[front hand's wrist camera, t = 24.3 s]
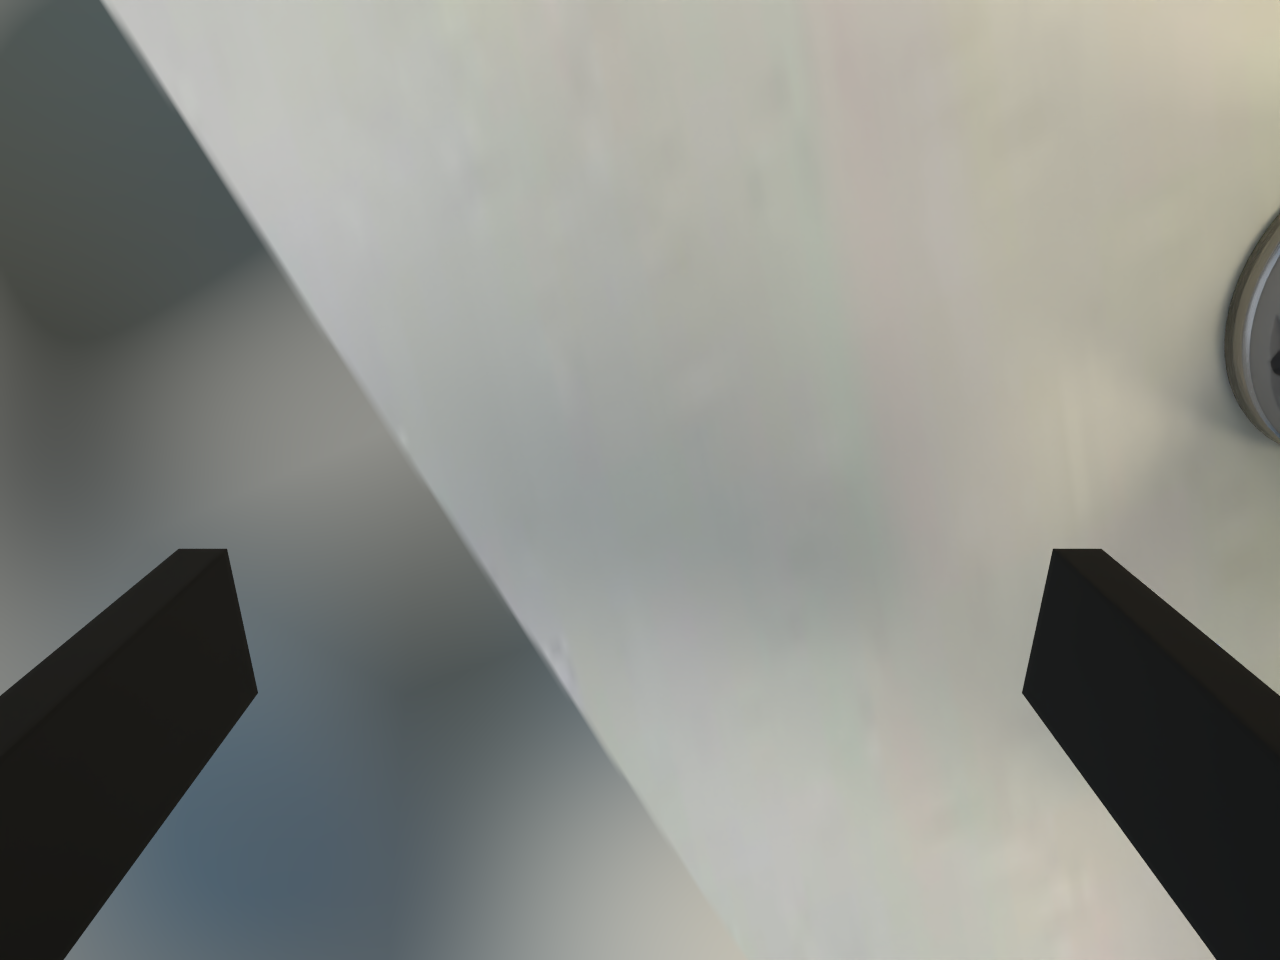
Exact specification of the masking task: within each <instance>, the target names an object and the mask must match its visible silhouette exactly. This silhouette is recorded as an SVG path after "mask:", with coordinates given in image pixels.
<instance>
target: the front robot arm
mask: <svg viewBox="0 0 1280 960" xmlns="http://www.w3.org/2000/svg"><path fill="white" fill-rule="evenodd" d="M1225 360H1226V368H1227V374H1228V378H1229V382H1230V385H1231V388H1232V390H1233V393H1234V396H1235V398H1236V400H1237V402H1238V403H1239V405H1240V407H1241V409H1242V410H1243V412H1244V413H1245V415H1246V416H1247V417H1248V419H1249V420H1250V421H1251V422H1252V423H1253V424H1254V425H1255V426H1256V427H1257V428H1258V429H1259V430H1260V431H1261V432H1262V433H1264V434H1265V435H1266V436H1267V437H1269V438H1270V439H1272V440H1274V441H1275V442H1277V443H1278V444H1280V214H1279V215H1278V216H1277V218H1276V219H1275V220H1274V221H1273V223H1272V224H1271V225H1270V226H1269V228H1268V229H1267V231H1266V232H1265V233H1264V235H1263V236H1262V238H1261V239H1260V241H1259V242H1258V244H1257V245H1256V247H1255V249H1254V251H1253V252H1252V254H1251V256H1250V257H1249V259H1248V261H1247V263H1246V265H1245V267H1244V269H1243V271H1242V274H1241V276H1240V278H1239V281H1238V283H1237V286H1236V289H1235V291H1234V294H1233V298H1232V301H1231V305H1230V308H1229V313H1228V318H1227V323H1226V332H1225ZM257 693H258V691H257V686H256V682H255V677H254V672H253V668H252V663H251V658H250V654H249V649H248V645H247V640H246V635H245V631H244V626H243V621H242V617H241V612H240V607H239V603H238V598H237V593H236V589H235V584H234V579H233V575H232V570H231V565H230V561H229V556H228V552H227V549H178V550H177V551H176V552H174V553H173V554H172V555H171V556H169V557H168V558H167V559H166V560H165V561H163V562H162V563H161V564H160V565H159V566H157V567H156V568H155V569H154V570H152V571H151V572H150V573H149V574H148V575H146V576H145V577H144V578H143V579H142V580H140V581H139V582H138V583H137V584H136V585H134V586H133V587H132V588H131V589H129V590H128V591H127V592H126V593H125V594H123V595H122V596H121V597H120V598H119V599H117V600H116V601H115V602H114V603H112V604H111V605H110V606H109V607H108V608H106V609H105V610H104V611H103V612H102V613H100V614H99V615H98V616H97V617H95V618H94V619H93V620H92V621H91V622H89V623H88V624H87V625H86V626H85V627H83V628H82V629H81V630H80V631H78V632H77V633H76V634H75V635H74V636H72V637H71V638H70V639H69V640H68V641H66V642H65V643H64V644H63V645H62V646H60V647H59V648H58V649H57V650H55V651H54V652H53V653H52V654H51V655H49V656H48V657H47V658H46V659H45V660H43V661H42V662H41V663H40V664H38V665H37V666H36V667H35V668H34V669H32V670H31V671H30V672H29V673H28V674H26V675H25V676H24V677H23V678H21V679H20V680H19V681H18V682H17V683H15V684H14V685H13V686H12V687H11V688H9V689H8V690H7V691H6V692H5V693H3V694H2V695H1V696H0V960H64V958H65V957H66V956H67V954H68V953H69V951H70V950H71V949H72V947H73V946H74V945H75V943H76V942H77V941H78V939H79V938H80V936H81V935H82V934H83V932H84V931H85V930H86V928H87V927H88V925H89V924H90V923H91V921H92V920H93V919H94V917H95V916H96V914H97V913H98V912H99V910H100V909H101V908H102V906H103V905H104V904H105V902H106V901H107V899H108V898H109V897H110V895H111V894H112V893H113V891H114V890H115V888H116V887H117V886H118V884H119V883H120V882H121V880H122V879H123V877H124V876H125V875H126V873H127V872H128V871H129V869H130V868H131V866H132V865H133V864H134V862H135V861H136V860H137V858H138V857H139V855H140V854H141V853H142V851H143V850H144V848H145V847H146V846H147V844H148V843H149V842H150V840H151V839H152V838H153V836H154V835H155V833H156V832H157V831H158V829H159V828H160V827H161V825H162V824H163V823H164V821H165V820H166V818H167V817H168V816H169V814H170V813H171V811H172V810H173V809H174V807H175V806H176V805H177V803H178V802H179V801H180V799H181V798H182V796H183V795H184V794H185V792H186V791H187V790H188V788H189V787H190V785H191V784H192V783H193V781H194V780H195V779H196V777H197V776H198V775H199V773H200V772H201V770H202V769H203V768H204V766H205V765H206V763H207V762H208V761H209V759H210V758H211V757H212V755H213V754H214V753H215V751H216V750H217V748H218V747H219V746H220V744H221V743H222V742H223V740H224V739H225V737H226V736H227V735H228V733H229V732H230V731H231V729H232V728H233V726H234V725H235V724H236V722H237V721H238V720H239V718H240V717H241V716H242V714H243V713H244V711H245V710H246V709H247V707H248V706H249V705H250V703H251V702H252V700H253V699H254V698H255V696H256V695H257ZM1022 694H1023V695H1024V696H1025V698H1026V699H1027V700H1028V702H1029V703H1030V705H1031V706H1032V707H1033V709H1034V710H1035V711H1036V713H1037V714H1038V716H1039V717H1040V718H1041V720H1042V721H1043V722H1044V724H1045V725H1046V726H1047V728H1048V729H1049V731H1050V732H1051V733H1052V735H1053V736H1054V737H1055V739H1056V740H1057V742H1058V743H1059V744H1060V746H1061V747H1062V748H1063V750H1064V751H1065V753H1066V754H1067V755H1068V757H1069V758H1070V759H1071V761H1072V762H1073V764H1074V765H1075V766H1076V768H1077V769H1078V770H1079V772H1080V773H1081V775H1082V776H1083V777H1084V779H1085V780H1086V781H1087V783H1088V784H1089V785H1090V787H1091V788H1092V790H1093V791H1094V792H1095V794H1096V795H1097V796H1098V798H1099V799H1100V801H1101V802H1102V803H1103V805H1104V806H1105V807H1106V809H1107V810H1108V812H1109V813H1110V814H1111V816H1112V817H1113V818H1114V820H1115V821H1116V823H1117V824H1118V825H1119V827H1120V828H1121V829H1122V831H1123V832H1124V834H1125V835H1126V836H1127V838H1128V839H1129V840H1130V842H1131V843H1132V844H1133V846H1134V847H1135V849H1136V850H1137V851H1138V853H1139V854H1140V855H1141V857H1142V858H1143V860H1144V861H1145V862H1146V864H1147V865H1148V866H1149V868H1150V869H1151V871H1152V872H1153V873H1154V875H1155V876H1156V877H1157V879H1158V880H1159V882H1160V883H1161V884H1162V886H1163V887H1164V888H1165V890H1166V891H1167V893H1168V894H1169V895H1170V897H1171V898H1172V899H1173V901H1174V902H1175V904H1176V905H1177V906H1178V908H1179V909H1180V910H1181V912H1182V913H1183V914H1184V916H1185V917H1186V919H1187V920H1188V921H1189V923H1190V924H1191V925H1192V927H1193V928H1194V930H1195V931H1196V932H1197V934H1198V935H1199V936H1200V938H1201V939H1202V941H1203V942H1204V943H1205V945H1206V946H1207V947H1208V949H1209V950H1210V952H1211V953H1212V954H1213V956H1214V957H1215V958H1216V960H1280V696H1279V695H1278V694H1277V693H1276V692H1274V691H1273V690H1272V689H1271V688H1269V687H1268V686H1267V685H1266V684H1265V683H1263V682H1262V681H1261V680H1260V679H1259V678H1257V677H1256V676H1255V675H1254V674H1252V673H1251V672H1250V671H1249V670H1248V669H1246V668H1245V667H1244V666H1243V665H1242V664H1240V663H1239V662H1238V661H1237V660H1236V659H1234V658H1233V657H1232V656H1231V655H1229V654H1228V653H1227V652H1226V651H1225V650H1223V649H1222V648H1221V647H1220V646H1219V645H1217V644H1216V643H1215V642H1214V641H1212V640H1211V639H1210V638H1209V637H1208V636H1206V635H1205V634H1204V633H1203V632H1202V631H1200V630H1199V629H1198V628H1197V627H1195V626H1194V625H1193V624H1192V623H1191V622H1189V621H1188V620H1187V619H1186V618H1185V617H1183V616H1182V615H1181V614H1180V613H1178V612H1177V611H1176V610H1175V609H1174V608H1172V607H1171V606H1170V605H1169V604H1168V603H1166V602H1165V601H1164V600H1163V599H1161V598H1160V597H1159V596H1158V595H1157V594H1155V593H1154V592H1153V591H1152V590H1151V589H1149V588H1148V587H1147V586H1146V585H1145V584H1143V583H1142V582H1141V581H1140V580H1138V579H1137V578H1136V577H1135V576H1134V575H1132V574H1131V573H1130V572H1129V571H1128V570H1126V569H1125V568H1124V567H1123V566H1121V565H1120V564H1119V563H1118V562H1117V561H1115V560H1114V559H1113V558H1112V557H1111V556H1109V555H1108V554H1107V553H1106V552H1104V551H1103V550H1102V549H1053V552H1052V556H1051V561H1050V565H1049V570H1048V575H1047V579H1046V584H1045V589H1044V593H1043V598H1042V603H1041V607H1040V612H1039V617H1038V621H1037V626H1036V631H1035V635H1034V640H1033V644H1032V649H1031V654H1030V658H1029V663H1028V668H1027V672H1026V677H1025V682H1024V686H1023V691H1022Z"/></svg>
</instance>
